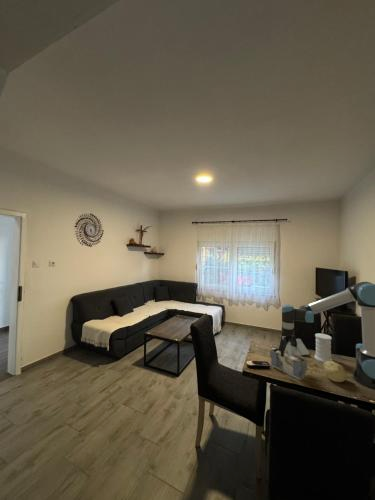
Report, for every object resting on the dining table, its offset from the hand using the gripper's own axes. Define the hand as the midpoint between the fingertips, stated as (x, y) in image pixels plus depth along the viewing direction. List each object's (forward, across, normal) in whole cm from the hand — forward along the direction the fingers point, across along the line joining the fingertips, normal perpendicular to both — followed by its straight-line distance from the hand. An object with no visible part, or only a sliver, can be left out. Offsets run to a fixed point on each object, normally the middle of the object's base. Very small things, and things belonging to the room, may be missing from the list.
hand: (288, 358), depth 146 cm
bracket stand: (+8, 0, 0) cm, 8 cm away
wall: (+9, -31, -11) cm, 34 cm away
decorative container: (+9, -39, +6) cm, 40 cm away
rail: (+3, 0, 0) cm, 3 cm away
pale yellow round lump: (+9, -16, +22) cm, 29 cm away
